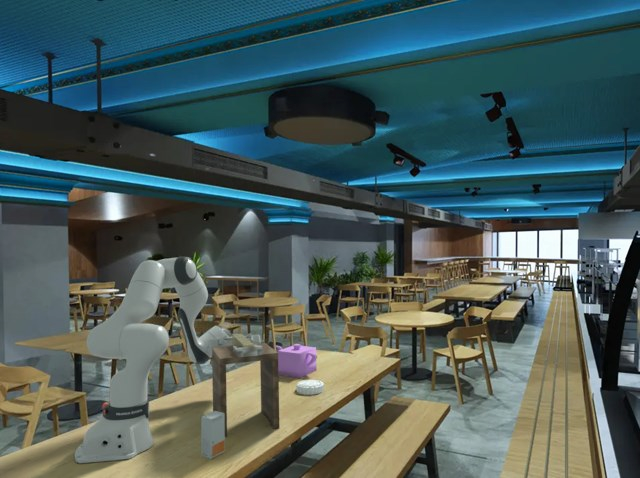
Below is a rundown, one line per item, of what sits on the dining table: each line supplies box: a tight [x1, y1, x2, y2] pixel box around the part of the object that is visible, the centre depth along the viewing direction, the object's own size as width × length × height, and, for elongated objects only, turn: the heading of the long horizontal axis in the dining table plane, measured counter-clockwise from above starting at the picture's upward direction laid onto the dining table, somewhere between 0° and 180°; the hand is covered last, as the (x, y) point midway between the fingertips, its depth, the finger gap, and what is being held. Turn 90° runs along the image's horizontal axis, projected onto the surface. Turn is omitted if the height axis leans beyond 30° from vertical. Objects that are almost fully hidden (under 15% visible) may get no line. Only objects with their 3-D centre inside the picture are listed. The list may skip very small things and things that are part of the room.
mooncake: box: [295, 379, 325, 396], centre depth 201 cm, size 12×12×4 cm
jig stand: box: [211, 342, 280, 438], centre depth 164 cm, size 20×19×29 cm
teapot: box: [275, 343, 318, 379], centre depth 230 cm, size 15×25×14 cm, turn 59°
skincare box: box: [200, 411, 226, 460], centre depth 140 cm, size 6×4×12 cm
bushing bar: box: [231, 333, 254, 348], centre depth 166 cm, size 4×22×4 cm, turn 21°
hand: (237, 336), depth 176 cm, fingers open, 8 cm apart
